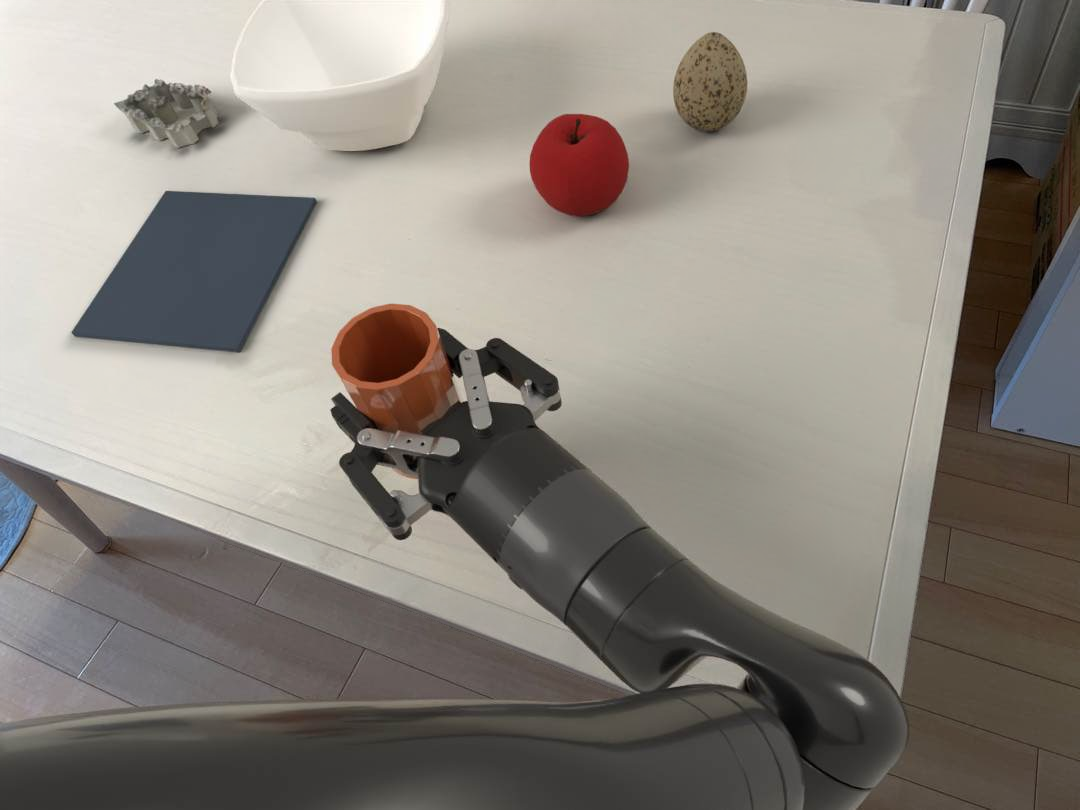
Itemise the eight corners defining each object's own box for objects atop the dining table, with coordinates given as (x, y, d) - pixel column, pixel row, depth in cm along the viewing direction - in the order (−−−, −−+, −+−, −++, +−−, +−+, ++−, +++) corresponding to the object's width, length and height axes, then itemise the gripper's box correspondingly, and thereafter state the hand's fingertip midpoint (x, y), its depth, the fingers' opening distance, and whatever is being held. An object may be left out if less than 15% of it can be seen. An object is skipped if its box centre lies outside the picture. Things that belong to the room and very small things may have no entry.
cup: (458, 485, 55) (419, 394, 46) (370, 473, 56) (315, 382, 47) (481, 406, 58) (450, 307, 49) (398, 397, 60) (352, 299, 51)
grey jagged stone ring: (229, 118, 94) (213, 88, 90) (181, 156, 91) (163, 125, 87) (174, 94, 98) (156, 64, 94) (126, 129, 95) (106, 99, 91)
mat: (240, 352, 72) (237, 348, 72) (74, 336, 76) (70, 332, 76) (317, 201, 83) (315, 197, 82) (168, 194, 87) (165, 190, 86)
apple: (634, 170, 79) (631, 81, 71) (624, 234, 74) (619, 146, 66) (544, 169, 81) (531, 82, 73) (529, 231, 76) (512, 146, 68)
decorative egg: (742, 101, 83) (750, 9, 75) (745, 146, 79) (754, 54, 71) (672, 105, 84) (674, 15, 76) (672, 149, 80) (673, 59, 72)
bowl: (461, 181, 82) (434, 81, 72) (258, 197, 84) (206, 103, 75) (477, 56, 94) (457, -44, 84) (300, 74, 97) (260, -21, 87)
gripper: (638, 410, 44) (452, 269, 52) (442, 587, 40) (271, 403, 48) (640, 476, 50) (474, 341, 58) (470, 635, 46) (315, 465, 54)
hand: (383, 369), depth 53 cm, fingers closed on cup, 7 cm apart
